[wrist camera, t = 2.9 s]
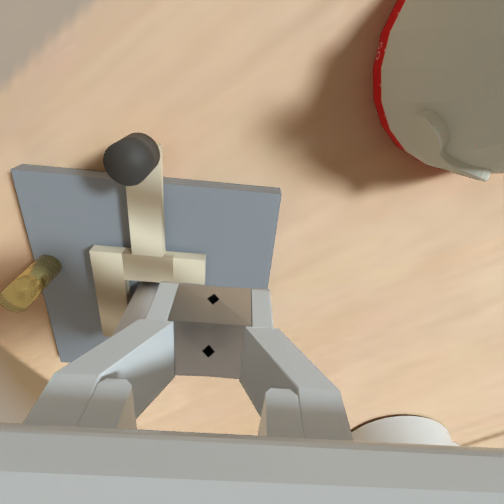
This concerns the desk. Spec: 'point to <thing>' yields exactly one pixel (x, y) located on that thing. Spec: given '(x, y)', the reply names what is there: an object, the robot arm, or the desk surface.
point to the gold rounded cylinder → (30, 283)
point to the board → (118, 235)
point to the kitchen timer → (444, 83)
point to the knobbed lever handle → (138, 232)
